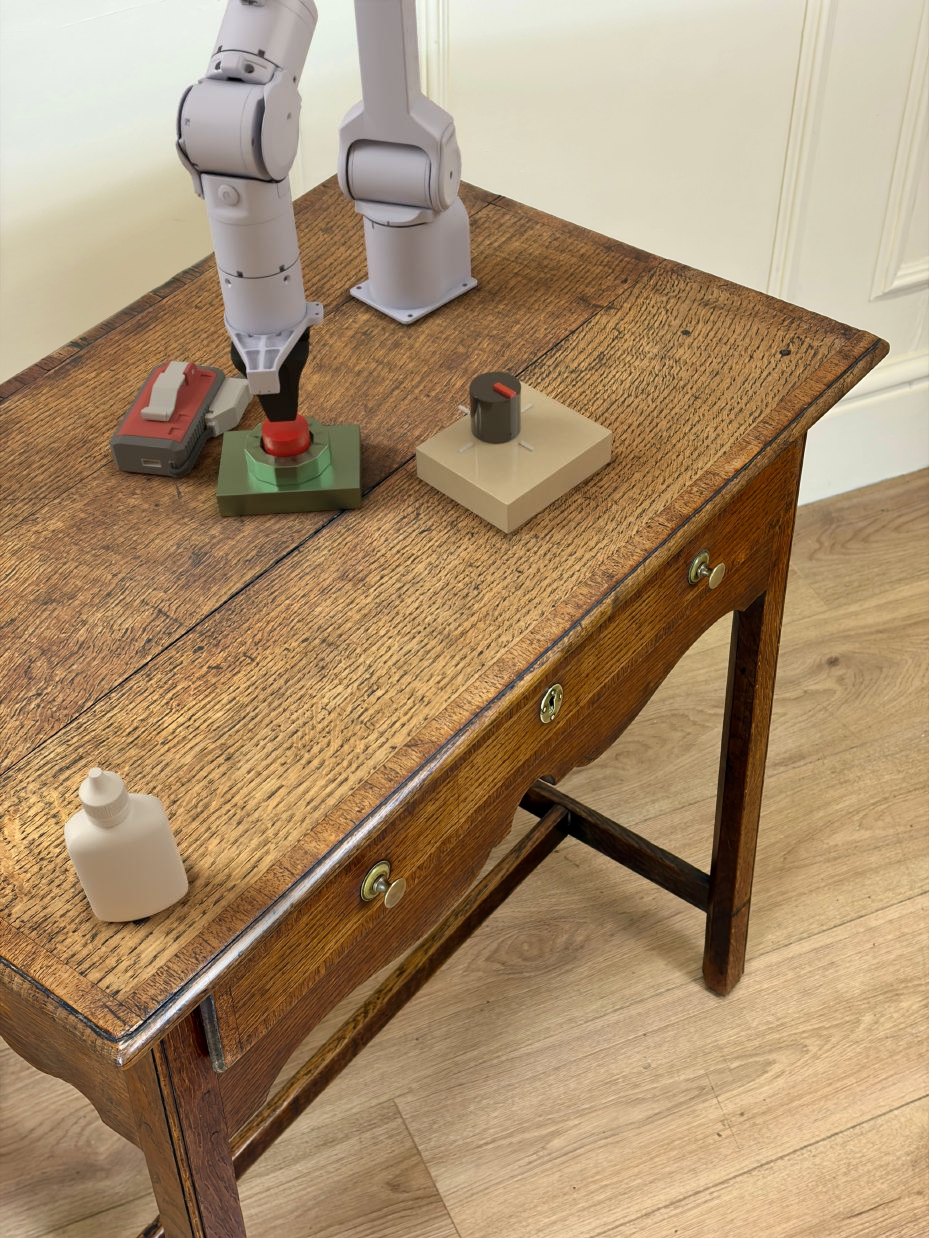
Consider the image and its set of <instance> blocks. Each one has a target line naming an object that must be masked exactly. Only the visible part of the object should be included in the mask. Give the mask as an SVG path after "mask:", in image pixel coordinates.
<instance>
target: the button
mask: <svg viewBox="0 0 929 1238" xmlns="http://www.w3.org/2000/svg"><path fill="white" fill-rule="evenodd" d="M303 416H304V415H302V414H299V413H297V417H296V420H295V421H285V422H270V421H269V420H268V418H267V417H266V419H265V420H264V421H263V422H264V423H263V424H262V428H261V430H262V436H263V442H264V447H265V450H266V451H267V453H268V454H270V455H272V456H275V457H278V458H281V457H294V456H297V455H299V454H302V453H304V452H305V451H306V450H307V449H308V448H309V446H310V443H311V441H310V434H309V427H308V422H307V420H306V419H305V418H304V417H303Z"/></svg>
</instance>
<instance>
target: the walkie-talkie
mask: <svg viewBox="0 0 929 1238" xmlns="http://www.w3.org/2000/svg"><path fill="white" fill-rule="evenodd" d="M253 398H254V395H251V394H250V389H249V384H248V380H247V379H246V378H245V376H244V375H243V374H242V373H241V372H239V373H238V374H237V376H236V377H227V376H226V373H225V372H224V370H222V369H220V368H219V367H216V366H208V365H207V366H206V365H198V364H196V363H195V362H192V361H191V362H190V361H178V360H168V361H167V362H162V363H159V364H157V365H155V366H153V367H152V368H151V370H150V371H149V373H148V375H147V376H146V377H145V380H144V382H143V383H142V385H141V386H140V388H139V390H138V392H137V393H136V395H135V397H134V400H132V403H130V404H129V405H130V406H129V407H128V409H127V411H126V412H125V414H124V415H123V416H122V419H121V420H120V423H118V426H117V427H116V428H115V431H113V433H112V435H111V437H110V440H108V444H109V448H110V451H111V456H112V458H113V461H114V465H115V466H116V468H117V469H118V471H122V472H130V473H140V474H150V475H158V476H159V475H160V476H168V477H169V476H170V477H172V478H174V479H181V478H184V477H186V476H187V475H188V474H190V473H191V471H192V470H193V469H194V465H196V462H197V461H198V458H199V456H200V453H202V449H203V448H204V446H205V445H206V443H207V441H208V439H210V438H212V437H213V438H216V437H218V436H220V435H222V434H224V432H226V431H231V430H232V429H233V428H236V427H237V426H238V425H239V423H240V421H241V419H242V417H243V415H244V413H245V410H246V409H247V408H248V406H249V404H250V403H251V402H252V400H253Z"/></svg>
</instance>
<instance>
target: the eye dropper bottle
mask: <svg viewBox="0 0 929 1238" xmlns="http://www.w3.org/2000/svg"><path fill="white" fill-rule="evenodd" d="M78 797H79V800H80V803H81V805H82V806H81V807H82V808H81V809H80V810H79V811H77V812H76V813H75V814H74V815H73V816H71V817H70V818H69V819H68V820H67V822H66V823H65V825H64V828H63V834H64V835H63V836H64V842H65V845H66V849H67V854H68V855H69V858H70V861H71V863H72V866H73V868H74V871H75V872H76V875H77V878H78V880H79V882H80V884H81V887H82V890H83V891H84V893H85V895H86V898H87V900H88V903H89V905H90V908H91V910H92V911H93V914H94V915H95V917H96V918H97V920H100V921H102V922H107V923H108V922H109V923H111V922H112V923H122V922H123V923H124V922H130V921H131V922H132V921H136V920H142V919H144V918H148V917H151V916H153V915H156V914H157V913H160V912H162V911H164V910H166V909H168V908H169V907H171V906H173V905H174V904H176V903H177V902H179V901H180V900H181V899H182V898H184V897H185V895H187V893H188V891H189V881H188V876H187V873H186V868H185V865H184V862H183V859H182V857H181V853H180V849H179V847H178V844H177V841H176V837H175V835H174V832H173V828H172V825H171V823H170V821H169V818H168V814H167V812H166V809H165V805H164V804H163V802H162V801H161V799H160V798H159V797H157V796H155V795H152V794H147V793H135V792H128V789H127V787H126V783H125V782H124V778H122V777H121V775H119V774H118V773H117V772H115V771H110V770H102V768H101V767H99V766H95V767H91V768H90V769H89V770H88V773H87V777H86V778H84V780H83V781H82V782H81V784H80V785H79V787H78Z"/></svg>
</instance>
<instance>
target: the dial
mask: <svg viewBox="0 0 929 1238" xmlns="http://www.w3.org/2000/svg"><path fill="white" fill-rule="evenodd" d="M520 381H521V380H519V379H518V378H517V377H516V376H515V375H513V374H511V373H508V372H503V371H488V372H483V373H481V374H479V375H477V376H475V377H474V378H473V379H472V380H471V381H470V383H469V387H468V391H469V392H468V393H469V394H468V395H469V410H470V426H471V432H472V434H473V435H474V436H475V437H476V438H477V439H479V440H480V441H483V442H486V443H493V444H498V443H505V442H508V441H510V440H512V439H514V438H515V437H517V436H518V434H519V433H520V431H521V383H520Z"/></svg>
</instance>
